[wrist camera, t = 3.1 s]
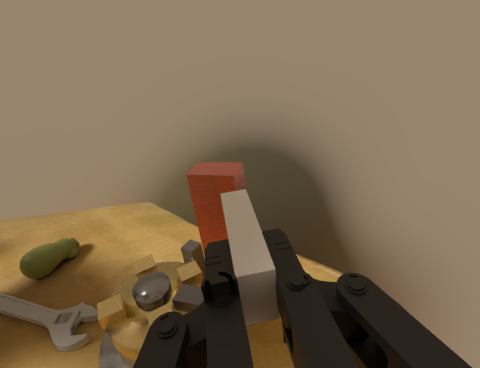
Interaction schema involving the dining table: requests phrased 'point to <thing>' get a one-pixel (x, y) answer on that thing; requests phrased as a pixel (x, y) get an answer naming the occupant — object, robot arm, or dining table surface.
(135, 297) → the spindle base
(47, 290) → the dining table surface
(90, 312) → the adjustable wrench
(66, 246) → the pear
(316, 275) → the dining table surface
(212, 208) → the toy block assembly
